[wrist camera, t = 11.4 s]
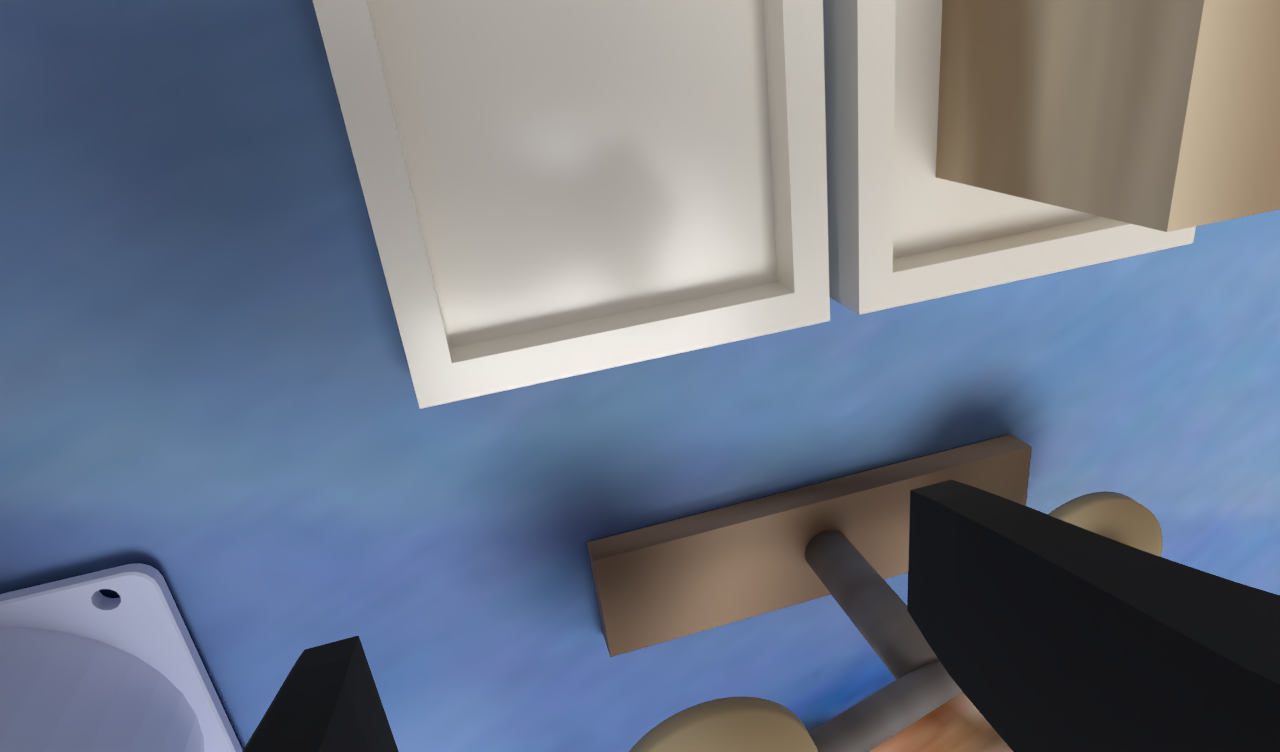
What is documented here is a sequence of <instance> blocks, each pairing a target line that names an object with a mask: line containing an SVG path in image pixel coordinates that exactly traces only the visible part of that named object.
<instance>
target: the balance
mask: <svg viewBox="0 0 1280 752" xmlns="http://www.w3.org/2000/svg"><path fill="white" fill-rule="evenodd" d="M1030 458H1031V446H1029V445H1028V444H1026V443H1024V442H1023V441H1021V440H1020V439H1018V438H1017V437H1015V436H1014V435H1012V434H1009V435H1005V436H1001V437H997V438H994V439H990V440H986V441H982V442H978V443H974V444H970V445H966V446H962V447H958V448H954V449H951V450H947V451H943V452H939V453H935V454H931V455H927V456H923V457H919V458H915V459H911V460H907V461H904V462H900V463H896V464H892V465H888V466H884V467H880V468H876V469H872V470H868V471H864V472H860V473H857V474H853V475H849V476H845V477H841V478H837V479H833V480H829V481H825V482H821V483H817V484H814V485H810V486H806V487H802V488H798V489H794V490H790V491H786V492H782V493H778V494H774V495H770V496H767V497H763V498H759V499H755V500H751V501H747V502H743V503H739V504H735V505H731V506H727V507H724V508H720V509H716V510H712V511H708V512H704V513H700V514H696V515H692V516H688V517H684V518H680V519H677V520H673V521H669V522H665V523H661V524H657V525H653V526H649V527H645V528H641V529H637V530H634V531H630V532H626V533H622V534H618V535H614V536H610V537H606V538H602V539H598V540H594V541H590V542H587V545H588V550H589V556H590V562H591V567H592V573H593V578H594V584H595V590H596V595H597V601H598V606H599V612H600V617H601V623H602V629H603V634H604V638H605V641H606V644H607V648H608V651H609V654H610V657H613V656H616V655H620V654H623V653H627V652H630V651H634V650H637V649H641V648H644V647H648V646H651V645H655V644H658V643H662V642H665V641H669V640H672V639H676V638H679V637H683V636H686V635H690V634H693V633H697V632H700V631H704V630H707V629H711V628H714V627H718V626H721V625H725V624H728V623H732V622H735V621H739V620H742V619H746V618H749V617H753V616H756V615H760V614H763V613H767V612H770V611H774V610H777V609H781V608H785V607H788V606H792V605H795V604H799V603H802V602H806V601H809V600H813V599H816V598H820V597H823V596H827V595H830V594H831V595H832V596H833V597H834V598H835V600H836V601H837V602H838V604H839V605H840V606H841V608H842V609H843V610H844V612H845V613H846V614H847V615H848V617H849V618H850V619H851V621H852V622H853V623H854V625H855V626H856V627H857V629H858V630H859V631H860V632H861V634H862V635H863V636H864V638H865V639H866V640H867V642H868V643H869V644H870V646H871V647H872V648H873V650H874V651H875V652H876V653H877V655H878V656H879V657H880V659H881V660H882V661H883V663H884V664H885V665H886V667H887V668H888V669H889V670H890V672H891V673H892V674H893V676H894V677H895V678H896V681H894V682H893V683H891V684H889V685H888V686H886V687H884V688H883V689H881V690H879V691H878V692H876V693H874V694H873V695H871V696H869V697H868V698H866V699H864V700H863V701H861V702H859V703H858V704H856V705H854V706H853V707H851V708H849V709H848V710H846V711H844V712H843V713H841V714H839V715H838V716H836V717H834V718H833V719H831V720H829V721H828V722H826V723H824V724H823V725H821V726H819V727H818V728H816V729H814V730H813V731H811V732H809V733H808V731H807V730H806V728H805V726H804V725H803V723H802V722H801V720H800V719H799V718H798V717H797V716H796V715H795V714H794V713H793V712H791V711H790V710H789V709H787V708H785V707H784V706H782V705H780V704H778V703H775V702H772V701H770V700H766V699H761V698H755V697H729V698H722V699H716V700H712V701H708V702H704V703H701V704H698V705H695V706H692V707H690V708H687V709H685V710H683V711H681V712H679V713H677V714H675V715H673V716H671V717H670V718H668V719H666V720H664V721H663V722H661V723H660V724H659V725H657V726H656V727H654V728H653V729H652V730H650V731H649V732H648V733H647V734H646V735H645V736H643V737H642V738H641V739H640V740H639V741H638V742H637V743H636V744H635V745H634V746H633V747H632V749H631V750H630V751H629V752H868V751H870V750H872V749H873V748H875V747H876V746H878V745H879V744H881V743H883V742H884V741H886V740H887V739H889V738H890V737H892V736H893V735H895V734H897V733H898V732H900V731H901V730H903V729H904V728H906V727H908V726H909V725H911V724H912V723H914V722H915V721H917V720H919V719H920V718H922V717H923V716H925V715H926V714H928V713H930V712H931V711H933V710H934V709H936V708H937V707H939V706H940V705H942V704H944V703H945V702H947V701H948V700H950V699H951V698H953V697H955V696H956V695H958V694H959V693H961V692H962V690H961V689H960V688H959V686H958V685H957V684H956V683H955V681H954V680H953V679H952V678H951V677H950V675H949V674H948V672H947V671H946V669H945V668H944V666H943V665H942V663H941V662H940V661H939V659H938V658H937V656H936V655H935V653H934V652H933V650H932V649H931V647H930V646H929V644H928V643H927V641H926V639H925V638H924V636H923V635H922V633H921V631H920V630H919V628H918V627H917V625H916V624H915V622H914V620H913V619H912V617H911V616H910V614H909V612H908V611H907V605H906V604H905V603H904V602H903V601H902V600H901V599H900V597H899V596H898V595H897V594H896V593H895V592H894V591H893V590H892V588H891V587H890V586H889V585H888V584H887V583H886V582H885V581H884V579H886V578H890V577H893V576H897V575H900V574H904V573H907V572H908V565H909V525H910V490H913V489H917V488H921V487H924V486H928V485H932V484H936V483H939V482H943V481H947V480H954V481H957V482H961V483H964V484H967V485H970V486H973V487H976V488H979V489H982V490H984V491H987V492H990V493H993V494H995V495H998V496H1001V497H1003V498H1006V499H1009V500H1011V501H1014V502H1016V503H1019V504H1022V505H1024V506H1026V499H1027V489H1028V478H1029V468H1030ZM1048 515H1050V516H1052V517H1055V518H1058V519H1060V520H1063V521H1065V522H1068V523H1071V524H1073V525H1076V526H1078V527H1081V528H1084V529H1086V530H1089V531H1091V532H1094V533H1097V534H1099V535H1102V536H1105V537H1107V538H1110V539H1113V540H1115V541H1118V542H1121V543H1123V544H1126V545H1129V546H1131V547H1134V548H1137V549H1140V550H1142V551H1145V552H1148V553H1151V554H1154V555H1156V556H1159V557H1161V553H1162V533H1161V528H1160V525H1159V523H1158V521H1157V519H1156V517H1155V516H1154V515H1153V514H1152V512H1151V511H1150V510H1148V509H1147V508H1145V507H1144V506H1142V505H1141V504H1139V503H1138V502H1136V501H1134V500H1133V499H1131V498H1130V497H1128V496H1125V495H1123V494H1120V493H1115V492H1096V493H1091V494H1086V495H1083V496H1080V497H1077V498H1075V499H1073V500H1071V501H1069V502H1066V503H1065V504H1063V505H1061V506H1060V507H1058V508H1056V509H1055V510H1053V511H1052V512H1051V513H1049V514H1048Z"/></svg>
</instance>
